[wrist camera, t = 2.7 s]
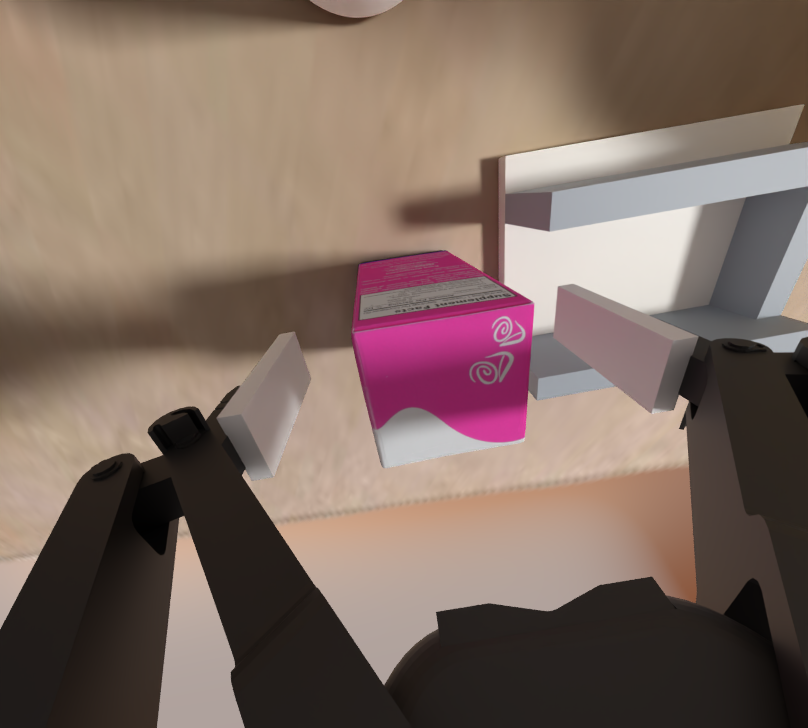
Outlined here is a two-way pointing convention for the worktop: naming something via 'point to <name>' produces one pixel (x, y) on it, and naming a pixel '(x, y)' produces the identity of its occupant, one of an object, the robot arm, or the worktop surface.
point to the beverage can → (356, 7)
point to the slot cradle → (660, 233)
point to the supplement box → (440, 357)
